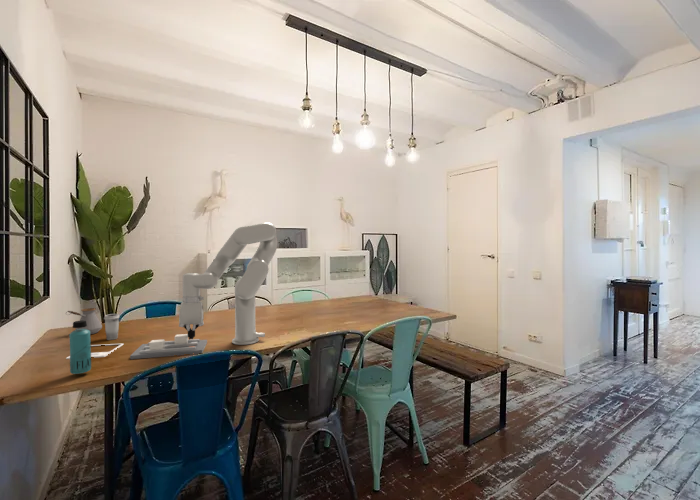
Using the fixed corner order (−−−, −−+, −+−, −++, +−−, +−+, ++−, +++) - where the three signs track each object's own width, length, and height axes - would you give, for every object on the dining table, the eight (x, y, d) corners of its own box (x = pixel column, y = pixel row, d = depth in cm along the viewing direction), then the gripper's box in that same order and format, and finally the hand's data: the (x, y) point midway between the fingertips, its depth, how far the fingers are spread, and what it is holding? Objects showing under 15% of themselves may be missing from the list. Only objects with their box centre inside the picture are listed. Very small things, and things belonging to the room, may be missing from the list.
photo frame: (66, 357, 146) (89, 344, 164) (66, 360, 146) (89, 347, 164) (104, 355, 149) (123, 343, 167) (104, 357, 149) (123, 345, 167)
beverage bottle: (74, 379, 125) (73, 323, 124) (66, 375, 128) (65, 321, 128) (95, 373, 130) (94, 320, 130) (87, 370, 134) (86, 318, 133)
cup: (120, 339, 175) (119, 315, 175) (103, 341, 172) (103, 317, 171) (119, 336, 181) (119, 313, 181) (104, 338, 177) (103, 314, 177)
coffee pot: (85, 330, 192) (84, 303, 192) (107, 330, 193) (106, 303, 193) (55, 341, 171) (55, 311, 171) (80, 341, 172) (79, 310, 172)
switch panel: (207, 342, 170) (207, 337, 170) (202, 353, 154) (202, 347, 153) (142, 347, 162) (142, 341, 162) (130, 359, 146) (130, 353, 146)
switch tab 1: (164, 348, 156) (164, 339, 156) (162, 350, 152) (162, 341, 152) (152, 349, 154) (151, 340, 154) (149, 351, 151) (149, 342, 150)
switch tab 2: (188, 342, 165) (187, 333, 165) (186, 344, 161) (186, 336, 161) (176, 343, 163) (176, 334, 163) (174, 345, 160) (174, 337, 159)
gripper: (209, 297, 168) (209, 335, 169) (175, 298, 164) (175, 337, 165) (207, 300, 161) (207, 339, 162) (172, 301, 157) (172, 342, 158)
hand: (191, 338), depth 163 cm, fingers closed
